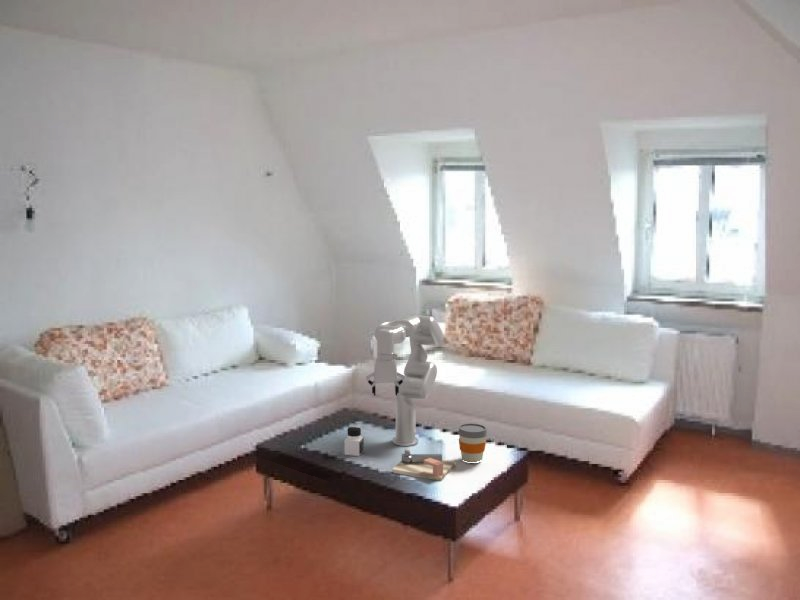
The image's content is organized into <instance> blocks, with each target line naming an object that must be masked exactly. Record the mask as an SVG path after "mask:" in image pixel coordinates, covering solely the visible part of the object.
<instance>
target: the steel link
mask: <svg viewBox="0 0 800 600" xmlns="http://www.w3.org/2000/svg"><path fill="white" fill-rule="evenodd" d="M428 458H432V459H435V460H438V461H440V462H442V460H443V454H442V453H434V454H433V453H431V454H430V453H425V454H424V453H420V454H415V453H413V454H412V453H410V456H405V453H403V454H401V461H402V462H403V463H412V462H424V460H425V459H428Z"/></svg>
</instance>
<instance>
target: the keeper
mask: <svg viewBox="0 0 800 600" xmlns="http://www.w3.org/2000/svg"><path fill="white" fill-rule="evenodd" d="M424 463H425V464H428V465H430V466H433V475H434V476H437V477H438V476H441V475H443V462H440V461H438V460H435V459H432V458H428V459H425V460H424Z"/></svg>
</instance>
